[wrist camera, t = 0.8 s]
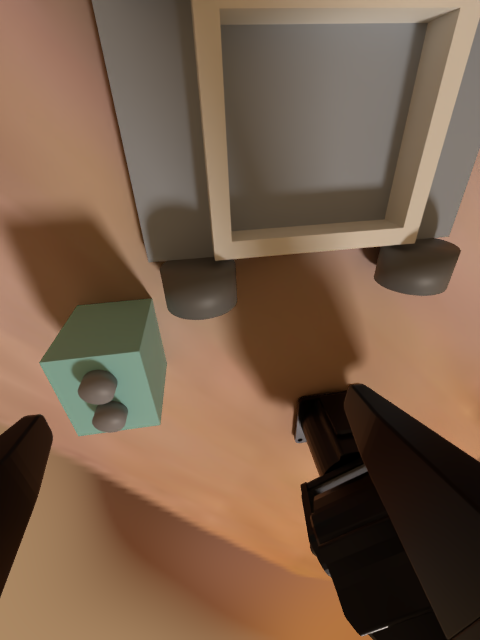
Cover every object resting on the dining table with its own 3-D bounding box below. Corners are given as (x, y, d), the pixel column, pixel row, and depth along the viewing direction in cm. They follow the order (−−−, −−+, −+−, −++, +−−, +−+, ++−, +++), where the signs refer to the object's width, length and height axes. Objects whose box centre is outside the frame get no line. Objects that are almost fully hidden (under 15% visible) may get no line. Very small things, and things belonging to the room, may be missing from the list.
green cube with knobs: (166, 363, 24) (159, 435, 18) (102, 370, 23) (74, 447, 18) (151, 297, 20) (136, 361, 15) (77, 305, 20) (32, 373, 14)
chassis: (428, 264, 22) (475, 290, 18) (157, 290, 20) (149, 324, 16) (544, -94, 13) (683, -183, 9) (73, -109, 11) (14, -229, 7)
